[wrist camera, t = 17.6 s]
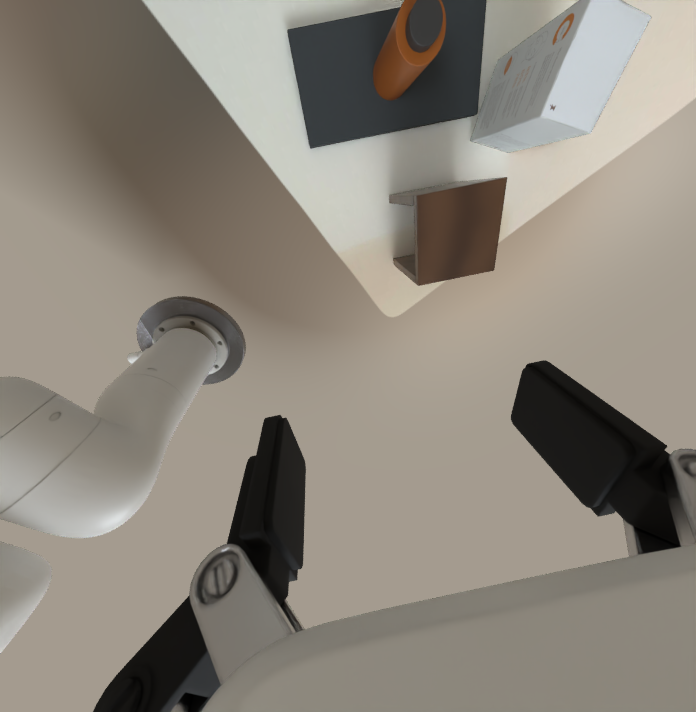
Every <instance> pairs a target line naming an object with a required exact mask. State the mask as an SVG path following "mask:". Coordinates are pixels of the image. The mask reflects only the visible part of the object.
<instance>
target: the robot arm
mask: <svg viewBox="0 0 696 712" xmlns="http://www.w3.org/2000/svg"><path fill="white" fill-rule="evenodd" d="M193 321H194V322H193ZM220 341H221V342H220ZM152 342H153V345H152V346H151V347H150V348H147V349H145V351H142V352H141V351H140V352H135V353H130V354H129V355H128V361H129V362H130V363H131V366H129V367H128V368H127V369H126V370H125V371H124V372H123V373H122V374H121V375H120V376H119V377H117V378H116V379H115V380H114V381H113V382H112V383H111V384H110V385H109V386H108V387H107V388H106V389H105V390H104V392H103V393H102V394H101V396H100V397H99V399H98V401H97V404H96V407H95V410H94V414H92V413H90V412H88V411H87V410H85V409H83V408H82V407H80V406H78V405H76V404H74V403H73V402H71V401H69V400H67V399H66V398H64V397H62V396H60V395H59V394H57V393H55V392H53V391H51V390H49V389H47V388H46V387H44V386H42V385H40V384H37V383H35V382H33V381H30V380H27V379H24V378H19V377H0V519H2V520H6V521H8V522H12V523H15V524H18V525H21V526H25V527H28V528H31V529H34V530H38V531H41V532H45V533H48V534H52V535H57V536H61V537H70V538H88V537H94V536H99V535H102V534H105V533H108V532H110V531H112V530H114V529H115V528H117V527H119V526H121V525H122V524H124V523H125V522H126V521H127V520H129V519H130V518H131V517H132V516H133V515H134V514H135V513H136V512H137V511H138V509H139V508H140V507H141V506H142V504H143V503H144V502H145V500H146V499H147V497H148V495H149V493H150V491H151V490H152V488H153V486H154V483H155V481H156V478H157V476H158V472H159V470H160V466H161V463H162V460H163V457H164V453H165V451H166V448H167V446H168V444H169V442H170V440H171V438H172V436H173V434H174V432H175V430H176V428H177V426H178V425H179V423H180V421H181V419H182V417H183V416H184V414H185V412H186V411H187V409H188V407H189V406H190V404H191V402H192V401H193V399H194V397H195V396H196V394H197V392H198V390H199V389H200V387H201V385H202V384H203V382H204V380H205V379H206V377H207V375H209V374H213V373H214V372H216V371H218V370H219V369H220V368H221V367H222V366H223V365H224V363H225V361H226V359H227V356H228V347H227V343H226V341H225V339H224V337H223V336H222V334H221V333H220V332H219V331H218V330H217V329H216V328H215V327H214V326H212V325H211V324H209V323H208V322H206V321H204V320H201V319H199V318H195V317H191V316H175V317H172V318H168V319H167V320H165V321H163V322H162V323H161V324H160V325H158V327H157V328H156V329H155V331H154V333H153V338H152ZM511 420H512V422H513V424H514V426H515V427H516V428H517V429H518V430H519V431H520V433H521V434H522V435H523V436H524V437H525V438H526V440H527V441H528V442H529V443H530V444H531V445H532V446H533V448H534V449H535V450H536V451H537V452H538V453H539V454H540V455H541V457H542V458H543V459H544V460H545V461H546V463H547V464H548V465H549V466H550V467H551V468H552V469H553V471H554V472H555V473H556V474H557V475H558V476H559V477H560V479H561V480H562V481H563V482H564V483H565V484H566V485H567V487H568V488H569V489H570V490H571V491H572V492H573V493H574V495H575V496H576V497H577V498H578V499H579V500H580V502H581V503H583V504H584V505H585V506H586V507H589V508H591V509H592V510H593V511H594V513H595V514H596V515H597V516H603V515H608V514H612V513H614V512H615V511H616V512H617V513H618V514H619V515H620V516H621V517H622V518H623V522H624V528H625V534H626V541H627V547H628V553H629V557H627V558H622V559H617V560H612V561H607V562H603V563H598V564H593V565H588V566H584V567H578V568H573V569H568V570H564V571H559V572H554V573H550V574H545V575H541V576H535V577H531V578H526V579H521V580H516V581H512V582H507V583H503V584H498V585H493V586H488V587H484V588H479V589H474V590H470V591H465V592H460V593H456V594H451V595H446V596H442V597H437V598H432V599H428V600H423V601H419V602H414V603H410V604H405V605H401V606H396V607H391V608H387V609H382V610H378V611H373V612H369V613H365V614H361V615H357V616H353V617H349V618H344V619H340V620H336V621H332V622H328V623H324V624H322V625H318V626H315V627H311V628H308V629H304V627H303V626H302V624H301V622H300V621H299V619H298V618H297V616H296V615H295V613H294V612H293V610H292V609H291V607H290V605H289V604H288V602H287V601H286V597H287V596H288V586H289V585H288V584H289V582H290V581H295V580H297V573H298V569H301V568H302V566H303V545H304V510H305V473H306V467H305V460H304V458H303V456H302V453H301V451H300V448H299V446H298V444H297V441H296V439H295V437H294V434H293V432H292V429H291V427H290V425H289V422H288V420H287V418H282V417H281V415H278V416H273V417H268V418H265V419H264V423H263V427H262V432H261V437H260V441H259V445H258V450H257V455H256V456H252V457H250V458H249V459H248V462H247V465H246V469H245V473H244V477H243V481H242V485H241V489H240V493H239V497H238V501H237V505H236V509H235V513H234V517H233V521H232V525H231V529H230V533H229V537H228V542H227V544H225V545H222V546H220V547H218V548H216V549H215V550H213V551H212V552H211V553H210V554H208V555H207V557H206V558H205V559H204V560H203V561H202V562H201V564H200V565H199V567H198V569H197V570H196V572H195V574H194V577H193V579H192V582H191V586H190V593H189V594H190V595H189V596H188V598H187V599H186V600H185V601H184V602H183V603H182V604H181V605H180V606H179V607H178V609H177V610H176V611H175V612H174V613H173V614H172V615H171V616H170V617H169V618H168V619H167V621H166V622H165V623H164V624H163V625H162V626H161V627H160V628H159V629H158V630H157V632H156V633H155V634H154V635H153V636H152V637H151V638H150V639H149V641H148V642H146V644H145V645H144V646H143V647H142V648H141V649H140V650H139V651H138V652H137V653H136V655H135V656H134V657H133V658H132V659H131V660H130V661H129V662H128V663H127V664H126V666H124V668H123V669H122V670H121V671H120V672H119V673H118V674H117V675H116V677H115V678H114V679H113V680H112V682H111V683H110V684H109V685H108V687H107V688H106V689H105V691H104V693H103V695H102V696H101V698H100V699H99V701H98V703H97V704H96V707H95V709H94V711H93V712H696V450H693V449H679V450H675V451H673V452H672V453H671V455H670V454H669V453H667V452H666V451H665V448H666V447H667V445H665V444H664V443H663V442H661V441H660V440H658V439H657V438H655V437H654V436H653V435H651V434H650V433H648V432H647V431H646V430H644V429H643V428H641V427H640V426H638V425H637V424H636V423H634V422H633V421H631V420H630V419H629V418H627V417H626V416H624V415H623V414H622V413H620V412H619V411H617V410H616V409H614V408H613V407H612V406H610V405H609V404H607V403H606V402H605V401H603V400H602V399H600V398H599V397H597V396H596V395H595V394H593V393H592V392H590V391H589V390H588V389H586V388H585V387H583V386H582V385H581V384H579V383H578V382H576V381H575V380H573V379H572V378H571V377H569V376H568V375H567V374H565V373H563V372H562V371H561V370H559V369H558V368H557V367H555V366H554V365H552V364H551V363H550V362H548V361H539V362H534V363H529V364H527V365H526V367H525V368H524V369H523V371H522V374H521V378H520V382H519V386H518V390H517V394H516V398H515V402H514V406H513V410H512V414H511ZM51 577H52V569H51V566H50V565H49V563H48V561H47V560H45V559H44V558H43V557H41V556H40V555H38V554H35V553H33V552H30V551H28V550H26V549H23V548H19V547H16V546H13V545H10V544H7V543H4V542H0V653H1V652H2V651H3V650H4V648H5V647H6V646H7V645H8V644H9V642H10V641H11V640H12V639H13V637H14V636H15V635H16V633H17V632H18V631H19V629H20V628H21V627H22V626H23V624H24V623H25V622H26V620H27V619H28V618H29V616H30V615H31V614H32V612H33V611H34V609H35V608H36V607H37V605H38V604H39V602H40V601H41V599H42V597H43V596H44V594H45V593H46V590H47V589H48V586H49V584H50V581H51Z"/></svg>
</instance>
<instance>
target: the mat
mask: <svg viewBox="0 0 696 712" xmlns="http://www.w3.org/2000/svg"><path fill="white" fill-rule="evenodd" d="M441 1H442V3H443V6H444V9H445V14H446V31H445V37H444V40H443V43H442V46H441V48H440V50H439V52H438V54H437V55H436V56H435V58H434V59H433V60H432V61H431V62H430V63H429V65H428V66H427V67H426V68H425V69H424V70H423V71H422V72H421V74H420V75H419V76H418V77H417V78H416V79H415V80H414V82H413V83H412V84H411V85H410V86H409V87H408V88H407V89H406V91H405V92H404V93H403V94H402V95H401V96H400V97H399V98H397V99H395V100H391V101H390V100H385V99H383V98H382V97H381V96H380V95H379V94H378V93H377V91H376V89H375V86H374V82H373V69H374V65H375V62H376V59H377V57H378V55H379V53H380V51H381V49H382V47H383V44H384V42H385V40H386V38H387V36H388V34H389V32H390V29H391V27H392V25H393V23H394V21H395V19H396V16H397V14H398V12H399V10H400V8H401V7H400V8H395V9H390V10H385V11H380V12H375V13H370V14H365V15H360V16H354V17H349V18H344V19H339V20H334V21H329V22H324V23H319V24H314V25H309V26H304V27H299V28H294V29H289V30H287V31H288V37H289V42H290V47H291V53H292V58H293V63H294V68H295V73H296V78H297V83H298V88H299V94H300V99H301V104H302V109H303V114H304V119H305V124H306V130H307V135H308V140H309V145H310V148H315V147H320V146H325V145H330V144H335V143H340V142H345V141H350V140H355V139H360V138H365V137H370V136H375V135H380V134H385V133H390V132H395V131H400V130H405V129H410V128H415V127H420V126H425V125H430V124H435V123H440V122H445V121H450V120H455V119H460V118H465V117H470V116H474V115H476V114H477V112H478V99H479V86H480V74H481V61H482V48H483V36H484V23H485V11H486V0H441Z"/></svg>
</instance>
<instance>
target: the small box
mask: <svg viewBox="0 0 696 712" xmlns="http://www.w3.org/2000/svg"><path fill="white" fill-rule="evenodd" d="M650 19H651V16H650V15H648V14H646V13H645V12H643V11H641V10H639V9H637V8H635V7H633V6H631V5H629V4H627V3H625V2H624V1H622V0H579V1H578V2H576V3H575V4H574V5H572V6H571V7H570V8H568V9H567V10H565V11H564V12H563V13H561V14H560V15H559V16H557V17H556V18H554V19H553V20H552V21H550V22H549V23H548V24H546V25H545V26H544V27H542V28H541V29H540V30H538V31H537V32H535V33H534V34H533V35H531V36H530V37H528V38H527V39H526V40H524V41H523V42H522V43H520V44H519V45H518V46H516V47H515V48H514V49H512V50H511V51H509V52H508V53H507V54H505V55H504V56H503V57H501V58H500V59H499V60H498V61H497V64H496V67H495V69H494V72H493V75H492V78H491V81H490V84H489V87H488V90H487V93H486V96H485V99H484V101H483V104H482V107H481V110H480V113H479V116H478V119H477V122H476V125H475V128H474V131H473V134H472V137H471V141H472V142H475V143H479V144H482V145H485V146H488V147H492V148H495V149H498V150H501V151H504V152H507V153H510V152H514V151H518V150H523V149H527V148H532V147H536V146H540V145H544V144H548V143H553V142H557V141H561V140H565V139H569V138H574V137H578V136H582V135H586V134H590V133H591V132H592V130H593V128H594V126H595V124H596V122H597V121H598V119H599V117H600V115H601V113H602V111H603V109H604V107H605V105H606V103H607V101H608V99H609V97H610V96H611V94H612V92H613V90H614V88H615V86H616V84H617V82H618V80H619V78H620V76H621V74H622V73H623V71H624V69H625V67H626V65H627V63H628V61H629V59H630V57H631V55H632V53H633V51H634V50H635V48H636V46H637V44H638V42H639V40H640V38H641V36H642V34H643V32H644V30H645V28H646V27H647V25H648V23H649V21H650Z"/></svg>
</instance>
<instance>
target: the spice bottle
mask: <svg viewBox="0 0 696 712" xmlns="http://www.w3.org/2000/svg"><path fill="white" fill-rule="evenodd" d="M445 31H446V14H445V9H444V6H443V3H442V1H441V0H404V2H403V4H402V6H401V8H400V10H399V12H398V14H397V16H396V19H395V21H394V23H393V25H392V27H391V29H390V32H389V34H388V36H387V38H386V40H385V42H384V44H383V47H382V49H381V51H380V53H379V55H378V57H377V59H376V62H375V65H374V69H373V82H374V86H375V89H376V91H377V93H378V94H379V95H380V96H381V97H382V98H383V99H385V100H390V101H391V100H395V99H397V98H399V97H400V96H401V95H402V94H403V93H404V92H405V91H406V89H407V88H408V87H409V86H410V85H411V84H412V83H413V82H414V80H415V79H416V78H417V77H418V76H419V75H420V74H421V72H422V71H423V70H424V69H425V68H426V67H427V66H428V65H429V63H430V62H431V61H432V60H433V59H434V58H435V56H436V55H437V54H438V52H439V50H440V48H441V46H442V43H443V40H444V37H445Z"/></svg>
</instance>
